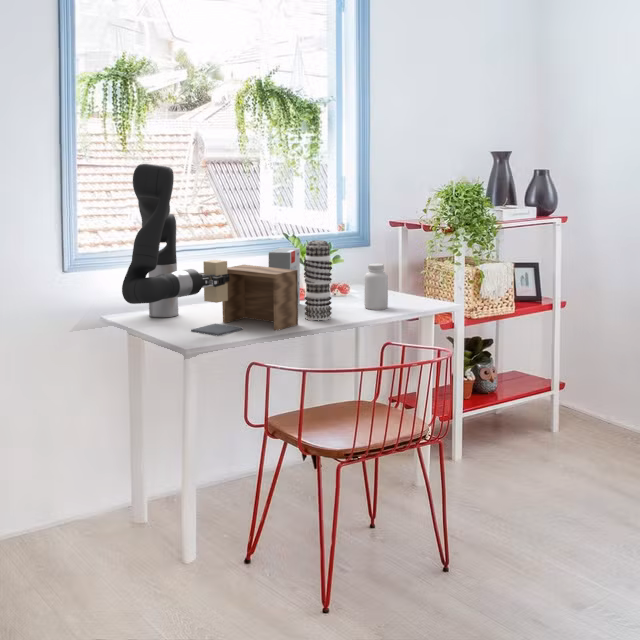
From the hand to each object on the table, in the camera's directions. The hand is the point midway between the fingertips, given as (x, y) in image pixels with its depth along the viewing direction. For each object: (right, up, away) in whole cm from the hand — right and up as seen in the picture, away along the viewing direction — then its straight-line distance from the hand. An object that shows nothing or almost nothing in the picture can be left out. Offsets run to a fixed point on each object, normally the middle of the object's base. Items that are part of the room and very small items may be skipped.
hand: (221, 276), depth 290 cm
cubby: (+11, -14, +11) cm, 21 cm away
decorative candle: (+29, -13, +19) cm, 37 cm away
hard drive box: (+18, -9, +38) cm, 43 cm away
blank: (-2, -7, -1) cm, 7 cm away
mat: (-1, -16, +1) cm, 16 cm away
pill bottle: (+49, -9, +36) cm, 62 cm away
